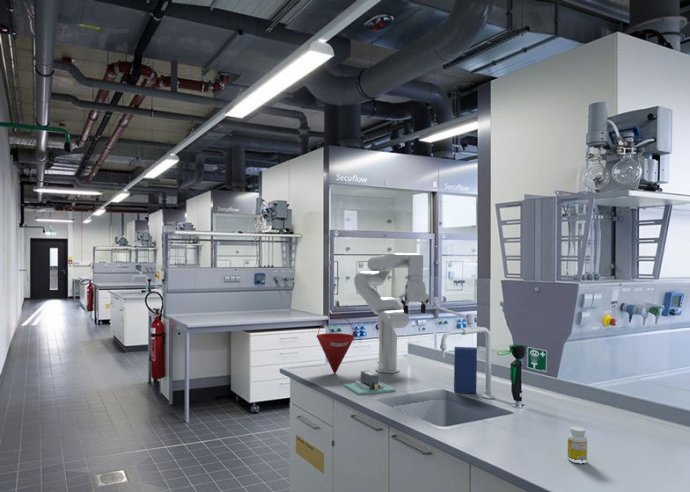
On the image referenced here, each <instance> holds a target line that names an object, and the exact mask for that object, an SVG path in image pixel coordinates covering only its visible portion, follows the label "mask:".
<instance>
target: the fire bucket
mask: <svg viewBox="0 0 690 492" xmlns="http://www.w3.org/2000/svg"><path fill="white" fill-rule="evenodd" d="M335 316H337V317H340V318H343V319H344V320H345V321H347V322H348V323H349V325H350V326H351V330H352V332H353V333H352V334H347V333H340V332H339V333H336V332H333V333H332V332H331V333H321V334H320V330H321V327H322V325H323V324H324V322H326V321H327V320H329V319H330V318H333V317H335ZM324 322H322V323H321V324H320V326H319V329H318V333H317V335H316V338H317V340H318V342H319V345H320V346H321V349H322V351H323V354H324V355H325V357H326V360H327V361H328V364H329V366H330V368H331V370H332V372H333V374H336V373H337V372H338V370H339V368H340V366H341V364H342V362H343V360H344V358H345V356H346V354H347V352H348V351H349V349H350V347H351V345H352V343H353V341H354V339H355V337H356V336H355V331H354V328H353V326H352V324H351V322H350V321H349V320H348V319H346V318H345V317H343V316H341V315H337V314H335V315H332V316H331V315H330V316H329V317H327V318H326V319H324Z"/></svg>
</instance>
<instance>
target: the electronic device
mask: <svg viewBox="0 0 690 492" xmlns="http://www.w3.org/2000/svg"><path fill="white" fill-rule="evenodd" d="M453 360H454V361H453V362H454V364H453V365H454V366H453V369H454V370H453V392H454V393H455V394H471V395H472V394H473V395H474V394H475V395H476V394H477V378H478V377H477V375H478V374H477V373H478V372H477V371H478V369H477V367H478V348H476V347H474V346H473V347H470V346H468V347H467V346H454V359H453Z"/></svg>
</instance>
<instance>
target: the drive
mask: <svg viewBox="0 0 690 492" xmlns="http://www.w3.org/2000/svg"><path fill="white" fill-rule="evenodd" d="M379 377H380V376H379V374H376V373H374V372H372V371H370V370H361V371H360V382H362V383H364V384H365V385H367V386H369V389H370V390H372V389H374V384H378V381H379Z"/></svg>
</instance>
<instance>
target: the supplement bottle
mask: <svg viewBox="0 0 690 492" xmlns="http://www.w3.org/2000/svg"><path fill="white" fill-rule="evenodd" d="M569 429H570V434H568V435H567V458H568V457H569V458H571V459H574V460H581V461H583V460H587V461H588V438H587V437H586V436H585V435H586V430H585V428H583V427H580V426H570V428H569Z"/></svg>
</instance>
